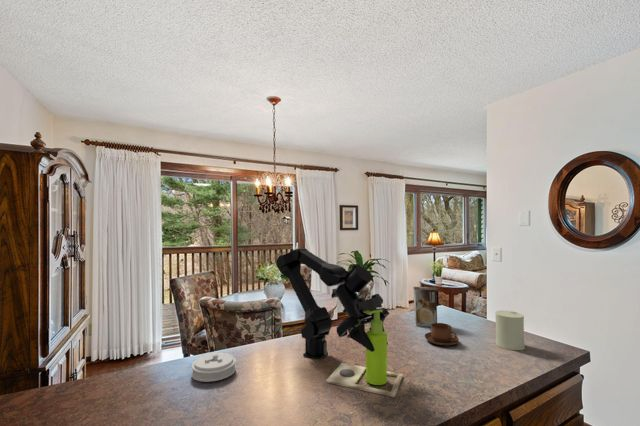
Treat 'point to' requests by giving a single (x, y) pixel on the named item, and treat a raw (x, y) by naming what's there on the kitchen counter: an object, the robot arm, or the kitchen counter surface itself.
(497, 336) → the can
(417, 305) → the coffee box
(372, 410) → the kitchen counter surface
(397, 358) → the kitchen counter surface
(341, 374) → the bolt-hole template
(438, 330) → the cup and saucer
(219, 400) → the kitchen counter surface
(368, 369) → the soap dispenser
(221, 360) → the lid
